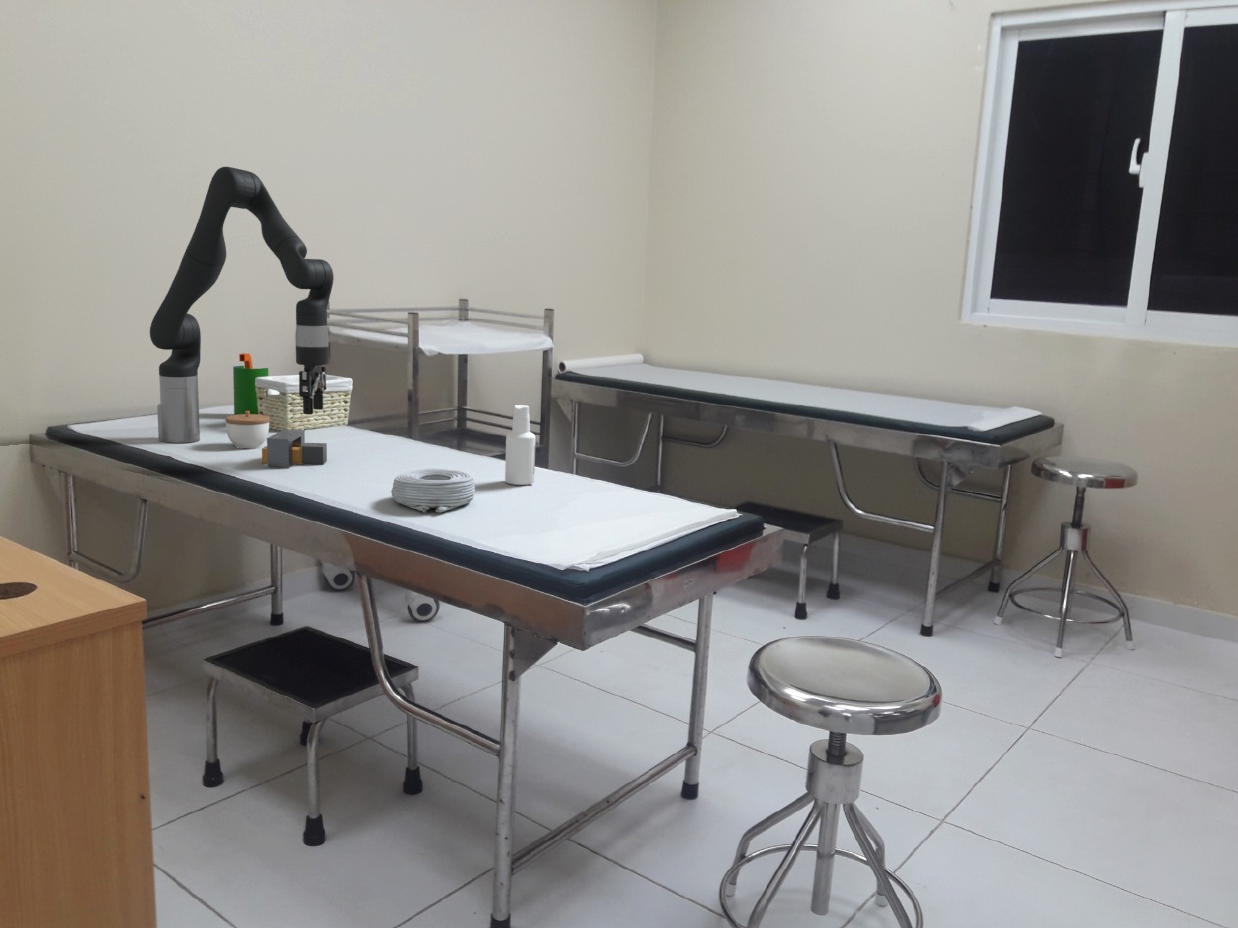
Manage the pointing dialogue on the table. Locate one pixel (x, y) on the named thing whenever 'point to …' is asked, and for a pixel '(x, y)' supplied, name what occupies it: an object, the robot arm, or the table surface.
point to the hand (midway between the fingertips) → (313, 411)
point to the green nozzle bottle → (246, 385)
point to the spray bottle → (520, 449)
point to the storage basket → (287, 406)
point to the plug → (305, 454)
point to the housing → (283, 447)
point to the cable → (433, 489)
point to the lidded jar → (247, 429)
